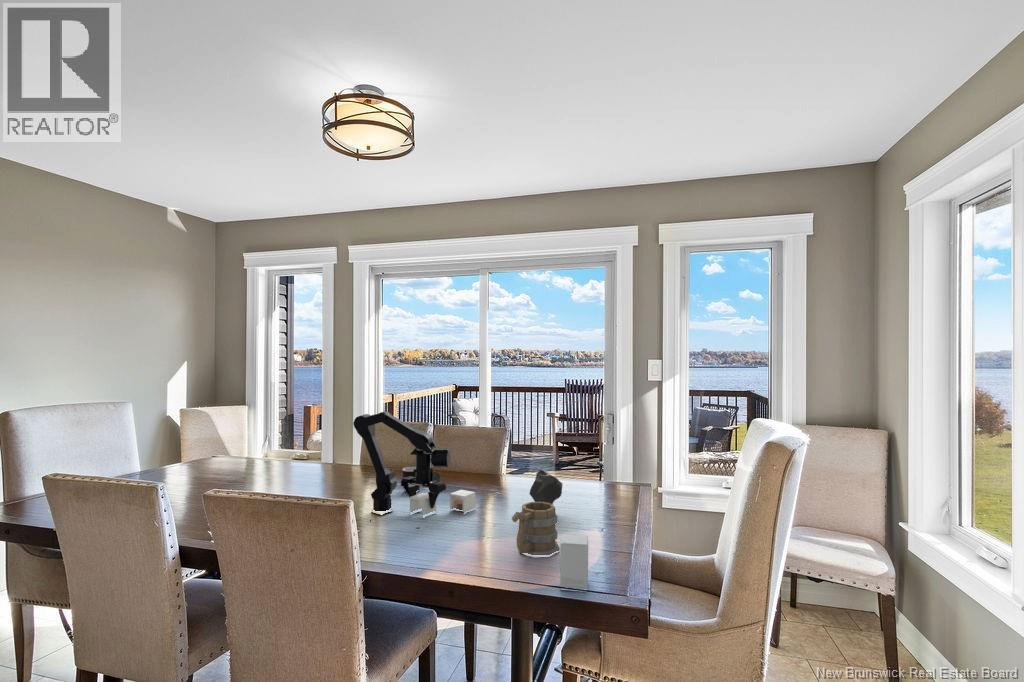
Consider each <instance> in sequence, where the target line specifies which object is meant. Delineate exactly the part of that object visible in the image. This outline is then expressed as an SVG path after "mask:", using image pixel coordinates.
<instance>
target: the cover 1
mask: <svg viewBox="0 0 1024 682" xmlns="http://www.w3.org/2000/svg"><path fill="white" fill-rule="evenodd" d="M421 508H422V512H421V514H422V515H425V514H428V513H430V512H433V511H436V512H437V501H436V502H435V505H434V508H432V509H431V507H430V502H429V495H428V493H427V492H425V493H424V492H420V493H418V494H417V493H416V495H414V496H411V497H409V513H410V512H413V511H415V510H418V509H421ZM422 515H421V516H422Z"/></svg>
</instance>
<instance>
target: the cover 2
mask: <svg viewBox="0 0 1024 682" xmlns="http://www.w3.org/2000/svg"><path fill="white" fill-rule="evenodd" d="M460 499H463V512H466V511H469V510H471V509H473V508H475V509H476V492H475V491H470V490H465V489H459V490H456V491H454V492H451V493H449V510H450V509H453V508H456V501H457V500H460Z"/></svg>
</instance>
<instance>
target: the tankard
mask: <svg viewBox="0 0 1024 682" xmlns="http://www.w3.org/2000/svg"><path fill="white" fill-rule="evenodd" d="M511 520H512V522H514V523H517V522H518V530H517V534H516V547H517V550H518V553H519V554H520V553H528V554H531V555H550V554H552V553H554V552H556V551H559V550H560V548H561V547H560V546H559V544H558V542H557V539H558V530H557V528H556V525H555V524H556V523H557V521H558V515H557V514H556V507H555V505H554V503H553V504H550V503H546V502H535V501H529V502H527V503H523V504H522V505H521V512H520V511H515V513H514V514H513V515H512V517H511Z"/></svg>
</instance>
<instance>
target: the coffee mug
mask: <svg viewBox="0 0 1024 682" xmlns="http://www.w3.org/2000/svg"><path fill="white" fill-rule="evenodd" d="M414 469H416V466H407V467H403V468H402V479H403V478H406V477H409V476H412V477H416V472H414ZM420 487H421V486H418V487H417V489H416V491H417V490H419V491H420Z"/></svg>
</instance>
